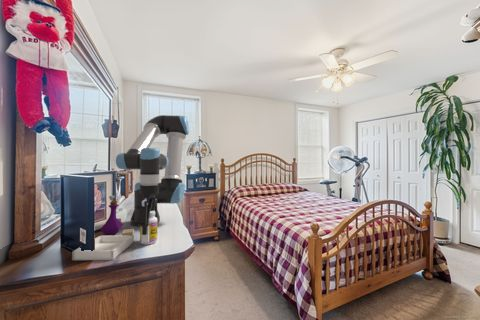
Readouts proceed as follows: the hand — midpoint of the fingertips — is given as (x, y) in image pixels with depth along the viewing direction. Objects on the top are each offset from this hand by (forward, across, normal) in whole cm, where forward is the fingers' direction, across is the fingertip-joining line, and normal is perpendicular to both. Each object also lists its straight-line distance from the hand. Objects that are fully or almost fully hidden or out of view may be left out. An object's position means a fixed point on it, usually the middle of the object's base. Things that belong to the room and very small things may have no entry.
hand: (148, 238), depth 88 cm
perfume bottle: (+2, -11, -21) cm, 24 cm away
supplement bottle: (+2, 0, 0) cm, 2 cm away
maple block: (+2, -3, -10) cm, 11 cm away
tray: (+1, +8, -13) cm, 15 cm away
